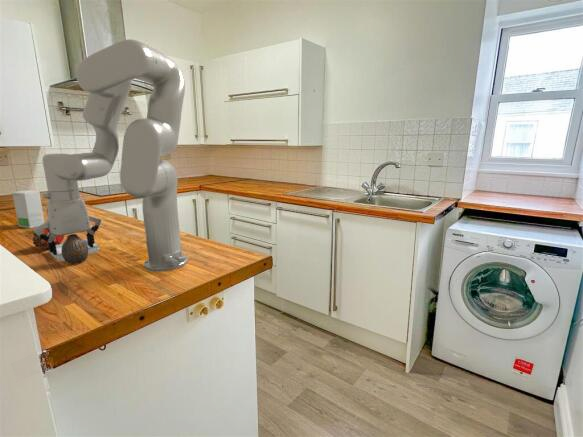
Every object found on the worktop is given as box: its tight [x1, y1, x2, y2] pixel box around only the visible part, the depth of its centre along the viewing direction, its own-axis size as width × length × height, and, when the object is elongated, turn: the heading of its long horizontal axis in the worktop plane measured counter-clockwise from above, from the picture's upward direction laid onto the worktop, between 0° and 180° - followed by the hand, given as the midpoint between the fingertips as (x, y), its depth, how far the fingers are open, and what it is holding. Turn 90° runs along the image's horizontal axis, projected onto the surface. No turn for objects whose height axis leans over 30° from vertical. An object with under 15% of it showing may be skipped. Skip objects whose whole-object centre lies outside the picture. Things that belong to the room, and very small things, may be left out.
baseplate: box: [48, 238, 101, 262], centre depth 109 cm, size 12×12×2 cm
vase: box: [61, 233, 89, 265], centre depth 100 cm, size 7×7×9 cm
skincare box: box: [12, 189, 45, 229], centre depth 142 cm, size 8×7×16 cm
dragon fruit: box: [32, 227, 65, 251], centre depth 114 cm, size 8×8×12 cm
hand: (73, 250), depth 100 cm, fingers open, 9 cm apart
